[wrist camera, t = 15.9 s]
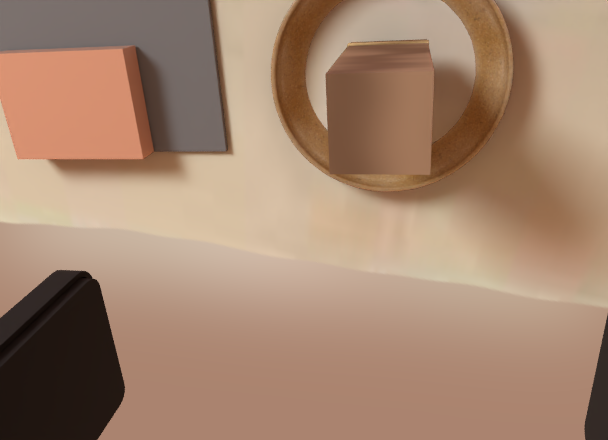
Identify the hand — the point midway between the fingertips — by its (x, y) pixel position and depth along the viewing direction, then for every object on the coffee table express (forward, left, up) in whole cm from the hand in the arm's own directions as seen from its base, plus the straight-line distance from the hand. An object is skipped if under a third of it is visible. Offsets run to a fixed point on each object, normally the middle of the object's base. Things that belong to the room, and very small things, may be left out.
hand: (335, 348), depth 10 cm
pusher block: (0, 0, -26) cm, 26 cm away
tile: (+22, -3, -27) cm, 35 cm away
